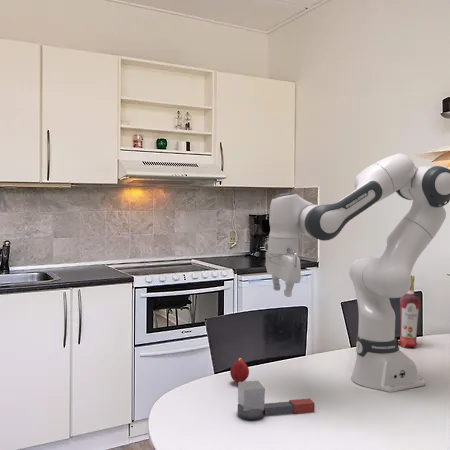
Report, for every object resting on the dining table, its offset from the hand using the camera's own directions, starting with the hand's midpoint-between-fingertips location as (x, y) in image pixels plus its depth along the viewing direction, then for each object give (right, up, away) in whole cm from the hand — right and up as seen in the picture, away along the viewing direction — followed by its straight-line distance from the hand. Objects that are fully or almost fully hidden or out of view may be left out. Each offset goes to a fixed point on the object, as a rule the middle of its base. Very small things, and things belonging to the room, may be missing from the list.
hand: (282, 293), depth 149 cm
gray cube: (-10, -28, -17) cm, 34 cm away
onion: (-13, -29, +5) cm, 32 cm away
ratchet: (-3, -30, -15) cm, 34 cm away
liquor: (+55, -28, +47) cm, 78 cm away
